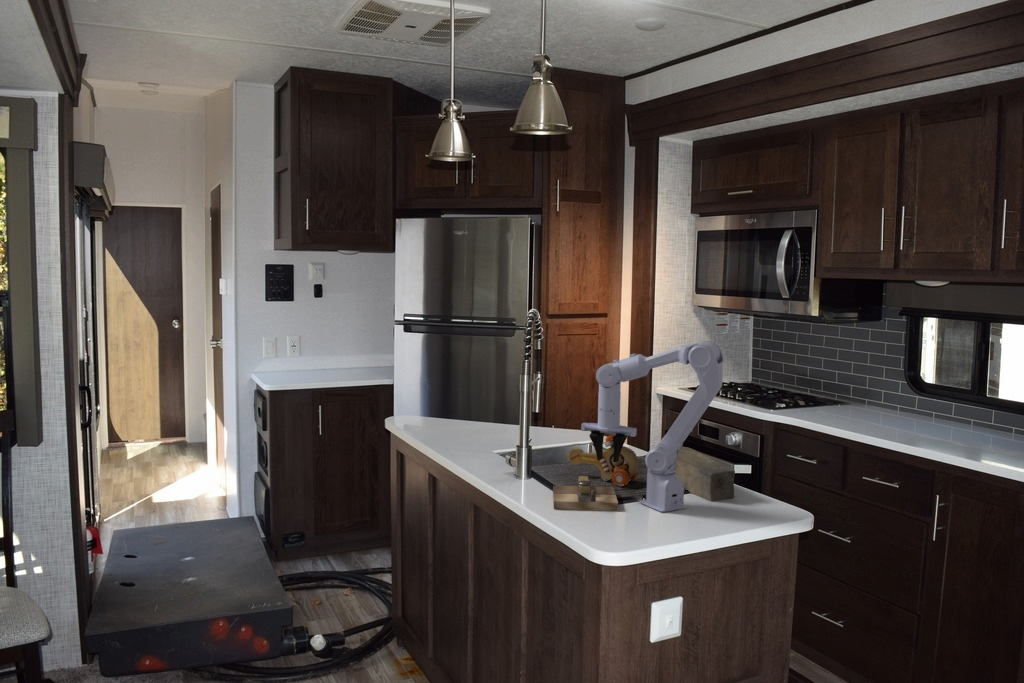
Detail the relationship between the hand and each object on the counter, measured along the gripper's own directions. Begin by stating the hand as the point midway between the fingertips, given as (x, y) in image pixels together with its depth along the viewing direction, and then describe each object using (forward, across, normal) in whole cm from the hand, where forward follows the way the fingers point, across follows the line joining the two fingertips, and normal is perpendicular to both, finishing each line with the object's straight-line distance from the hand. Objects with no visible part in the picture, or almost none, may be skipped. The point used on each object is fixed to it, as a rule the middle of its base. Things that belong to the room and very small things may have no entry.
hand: (607, 460), depth 217 cm
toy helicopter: (+10, -6, +15) cm, 19 cm away
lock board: (+10, -4, -6) cm, 12 cm away
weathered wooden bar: (+10, +18, +21) cm, 29 cm away
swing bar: (+7, -5, -3) cm, 10 cm away
